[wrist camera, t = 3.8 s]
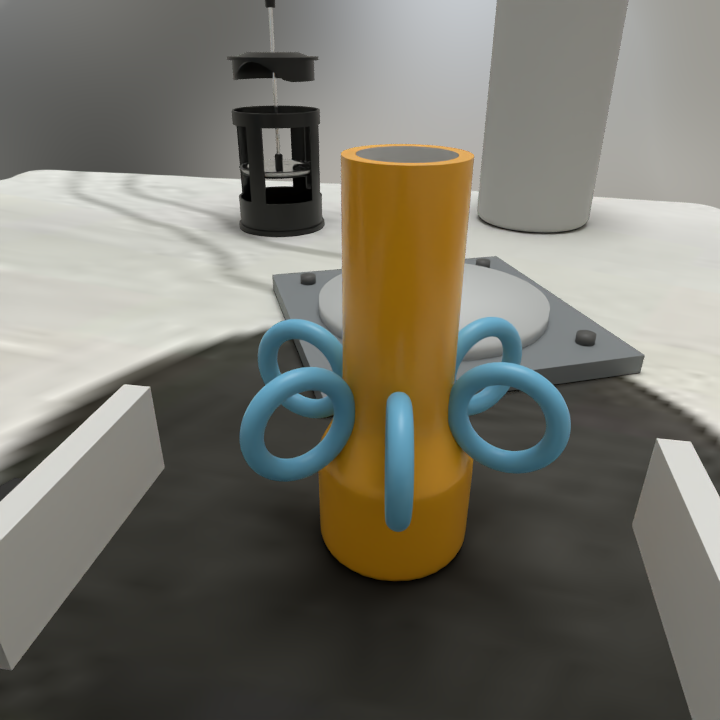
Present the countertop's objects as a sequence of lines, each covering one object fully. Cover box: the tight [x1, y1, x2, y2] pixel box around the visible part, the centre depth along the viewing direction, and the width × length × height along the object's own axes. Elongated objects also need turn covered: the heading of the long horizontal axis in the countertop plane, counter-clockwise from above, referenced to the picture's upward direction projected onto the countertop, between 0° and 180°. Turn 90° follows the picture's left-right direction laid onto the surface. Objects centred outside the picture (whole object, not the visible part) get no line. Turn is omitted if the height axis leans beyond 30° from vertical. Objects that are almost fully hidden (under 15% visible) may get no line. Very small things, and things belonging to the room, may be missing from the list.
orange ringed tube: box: [240, 144, 571, 581], centre depth 22 cm, size 12×10×15 cm
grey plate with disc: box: [273, 256, 644, 416], centre depth 43 cm, size 20×20×2 cm
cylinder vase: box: [477, 0, 628, 232], centre depth 64 cm, size 12×12×25 cm
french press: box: [227, 0, 324, 237], centre depth 63 cm, size 12×9×23 cm
